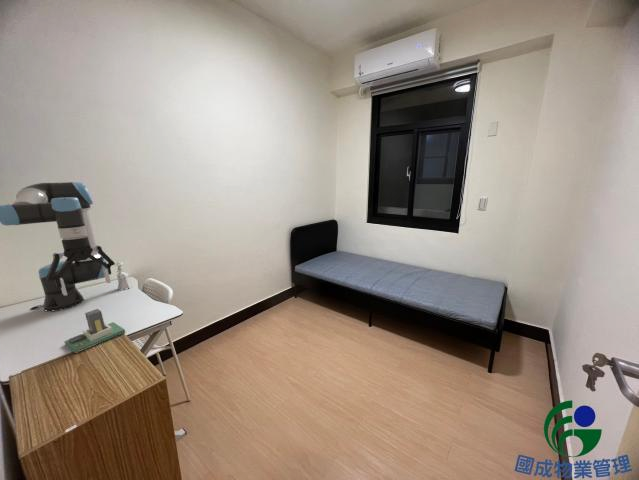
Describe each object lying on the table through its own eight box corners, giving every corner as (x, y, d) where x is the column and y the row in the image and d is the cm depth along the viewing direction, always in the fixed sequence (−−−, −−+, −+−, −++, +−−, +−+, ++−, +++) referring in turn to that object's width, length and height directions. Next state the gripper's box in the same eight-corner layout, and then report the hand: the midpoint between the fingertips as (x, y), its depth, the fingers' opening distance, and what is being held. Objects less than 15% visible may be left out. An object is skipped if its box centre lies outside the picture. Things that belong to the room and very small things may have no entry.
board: (65, 344, 99) (63, 336, 98) (113, 325, 112) (112, 317, 112) (75, 354, 93) (72, 345, 92) (125, 332, 106) (123, 324, 105)
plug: (90, 334, 103) (84, 313, 100) (102, 330, 106) (97, 308, 104) (94, 338, 100) (88, 315, 98) (107, 333, 103) (101, 311, 101)
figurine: (116, 288, 154) (109, 261, 150) (131, 284, 160) (126, 257, 156) (118, 291, 150) (112, 263, 146) (134, 287, 156) (129, 259, 152)
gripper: (29, 246, 84) (46, 303, 89) (117, 232, 104) (127, 279, 109) (24, 243, 88) (41, 298, 93) (110, 231, 108) (120, 276, 113)
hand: (87, 288), depth 101 cm, fingers open, 13 cm apart
